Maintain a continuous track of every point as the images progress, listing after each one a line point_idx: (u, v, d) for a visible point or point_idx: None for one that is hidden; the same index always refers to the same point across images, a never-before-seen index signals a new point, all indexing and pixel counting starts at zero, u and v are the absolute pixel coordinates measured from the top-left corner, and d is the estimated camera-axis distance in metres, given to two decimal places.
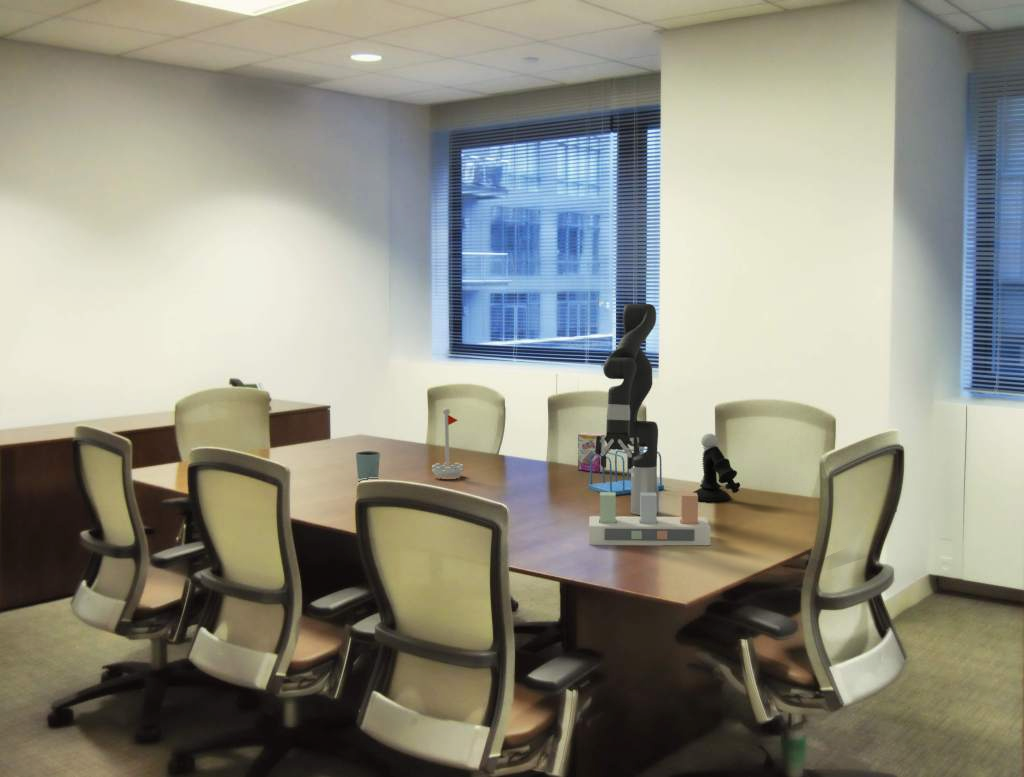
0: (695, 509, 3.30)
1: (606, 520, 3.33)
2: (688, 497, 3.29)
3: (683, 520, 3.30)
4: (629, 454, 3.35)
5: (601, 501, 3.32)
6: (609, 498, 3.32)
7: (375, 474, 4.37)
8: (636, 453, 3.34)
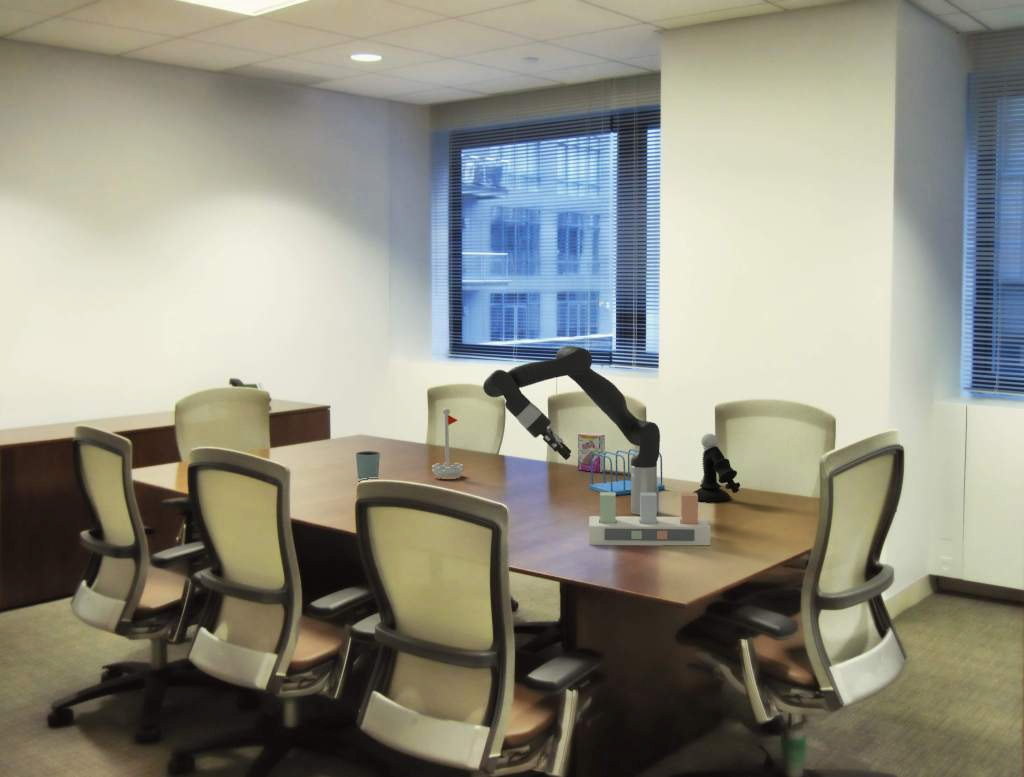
0: (695, 509, 3.30)
1: (606, 520, 3.33)
2: (688, 497, 3.29)
3: (683, 520, 3.30)
4: None
5: (601, 501, 3.32)
6: (609, 498, 3.32)
7: (375, 474, 4.37)
8: (554, 450, 3.27)
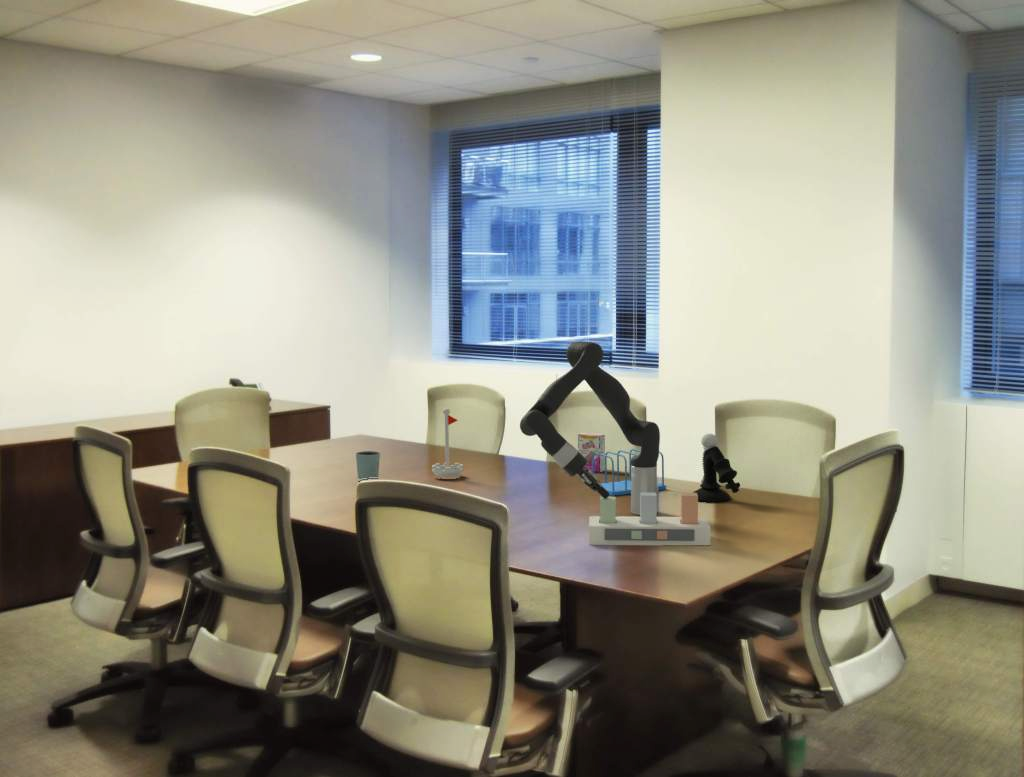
0: (695, 509, 3.30)
1: None
2: (688, 497, 3.29)
3: (683, 520, 3.30)
4: None
5: (601, 505, 3.32)
6: (609, 503, 3.32)
7: (375, 474, 4.37)
8: (593, 489, 3.32)
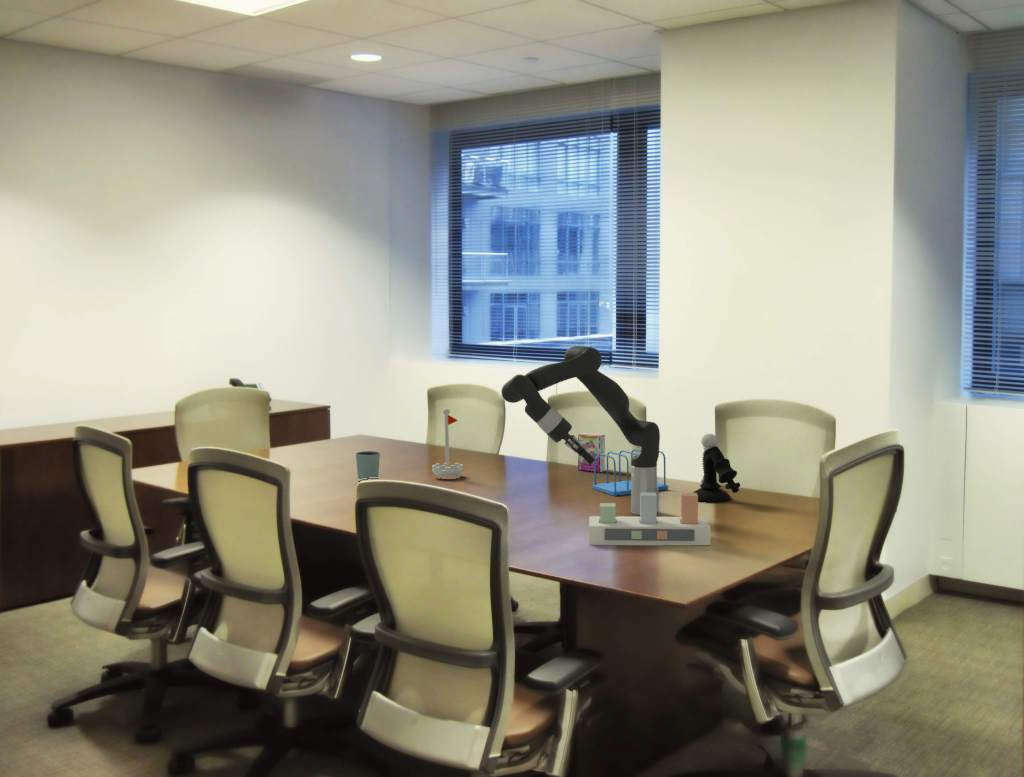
0: (695, 509, 3.30)
1: None
2: (688, 497, 3.29)
3: (683, 520, 3.30)
4: None
5: (601, 512, 3.33)
6: (609, 509, 3.32)
7: (375, 474, 4.37)
8: (579, 454, 3.27)
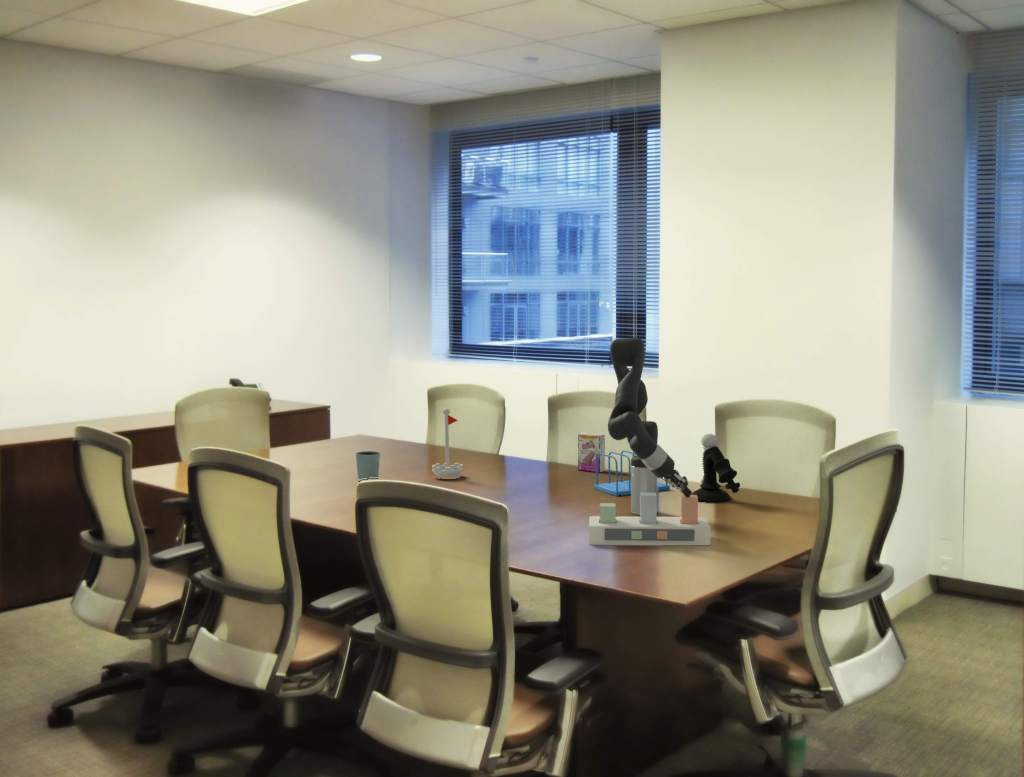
0: (695, 511, 3.30)
1: None
2: (688, 499, 3.30)
3: (683, 522, 3.30)
4: (679, 488, 3.29)
5: (601, 512, 3.33)
6: (609, 509, 3.32)
7: (375, 474, 4.37)
8: (682, 488, 3.27)
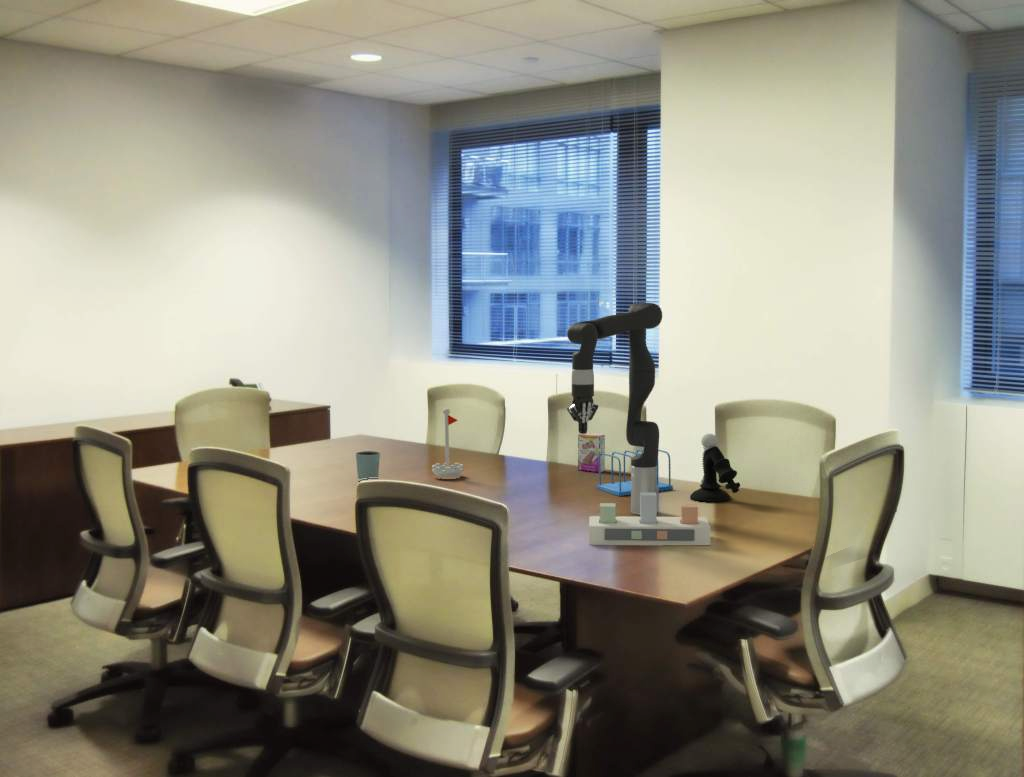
0: (695, 520, 3.30)
1: None
2: (688, 508, 3.30)
3: None
4: None
5: (601, 512, 3.33)
6: (609, 509, 3.32)
7: (375, 474, 4.37)
8: None
